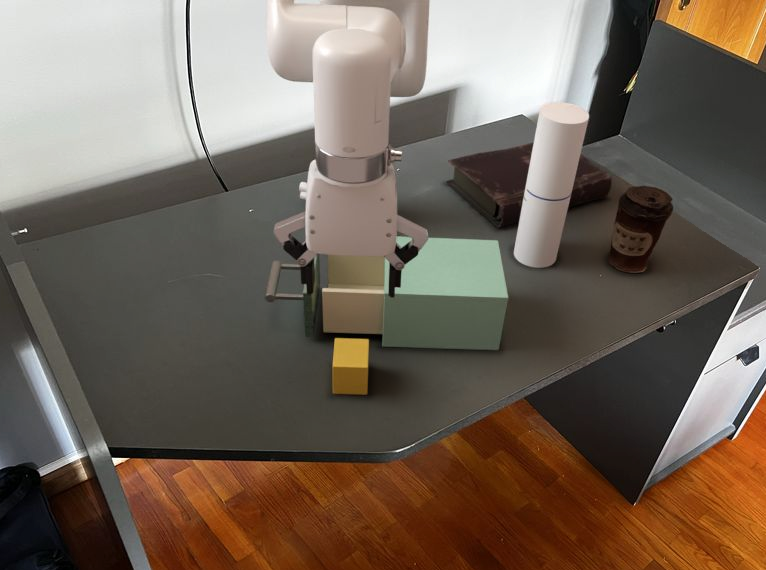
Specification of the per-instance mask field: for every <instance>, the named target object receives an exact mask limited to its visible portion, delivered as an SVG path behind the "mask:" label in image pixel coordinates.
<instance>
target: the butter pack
mask: <svg viewBox="0 0 766 570" xmlns="http://www.w3.org/2000/svg"><path fill="white" fill-rule="evenodd" d="M333 347H334V348H333V356H332V367H331V368H332V394H333V395H363V396H367V395H368V388H369V387H368V386H369V385H368V384H369V357H370V354H369V353H370V339H369V338H347V337H345V338H344V337H335V338H334V345H333Z"/></svg>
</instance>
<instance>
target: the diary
mask: <svg viewBox="0 0 766 570" xmlns="http://www.w3.org/2000/svg"><path fill="white" fill-rule="evenodd" d="M533 144H534V141H533V142H529V143H526V144H521V145H517V146H512V147H508V148H504V149H503V148H502V149H496V150H490V151H483V152H476V153H474V154H473V153H472V154H469V155H464V156H460V157H456V158H452V159H448V160H447V162H448V163H449V164H450V165H452V166H453V167H454V171H453V179H449V180H446V181H445V183H446V184H447V185H448V186H449V187H451V189H453V190H454V191H455V192H456V193H458V194H459V196H461V197H462V198H463V199H464V200H465V201H467V202H468V203H469V204H470V205H471V206H472V207H474V208H475V210H477V211H478V212H479V213H480V214H481V215H482V216H483V217H485V218H486V219H487V220H488V221H489V222H491V223H492V224H493V225H494V226H495V227H496V228H498V229H499V228H502V227H506V226H509V225H512V224H515V223H519V220H520V215H521V209H522V204H523V198H524V193H525V187H526V182H527V176H528V171H529V166H530V160H531V155H532V150H533ZM612 182H613V176H612V175H611V174H609V173H607V172H606V171H604V170H603V169H601V168H600V167H599V166H598V165H596V164H595V163H594V162H593V161H591V160H590V159H588V158H587V157H586V156H585V155H584V154H582V153H581V154H580V158H579V162H578V167H577V171H576V175H575V180H574V184H573V188H572V192H571V197H570V201H569V206H568V208H571V207H574V206H577V205H579V204H583V203H588V202H592V201H596V200H600V199H601V200H602V199H604V198H607V197H608V196H609V193H610V191H611V188H612Z"/></svg>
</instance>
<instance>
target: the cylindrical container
mask: <svg viewBox="0 0 766 570" xmlns="http://www.w3.org/2000/svg"><path fill="white" fill-rule="evenodd" d="M589 119H590V113H589V112H588V111H587V110H586V109H585V108H583V107H581V106H579V105H576V104H573V103H569V102H563V101H552V102H547V103H545V104H543V105H541V106H540V108H539V112H538V117H537V123H536V129H535V134H534V139H533V142H534V144H533V150H532V155H531V160H530V166H529V171H528V176H527V182H526V187H525V193H524V198H523V204H522V209H521V215H520V220H519V221H518V227H517V231H516V237H515V241H514V242H515V243H514V249H513V257H514V258H515V259H516V260H517V261H518V262H519V263H520V264H522V265H524V266H527V267H530V268H536V269H542V268H548V267H551V266H552V265H553V264H554V263H555V262H556V261H557V257H558V252H559V248H560V244H561V239H562V235H563V231H564V227H565V223H566V219H567V213H568V210H569V207H568V206H569V201H570V197H571V192H572V188H573V184H574V180H575V175H576V171H577V167H578V162H579V158H580V154H582V149H583V144H584V140H585V137H586V132H587V127H588V124H589V121H590V120H589Z"/></svg>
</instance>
